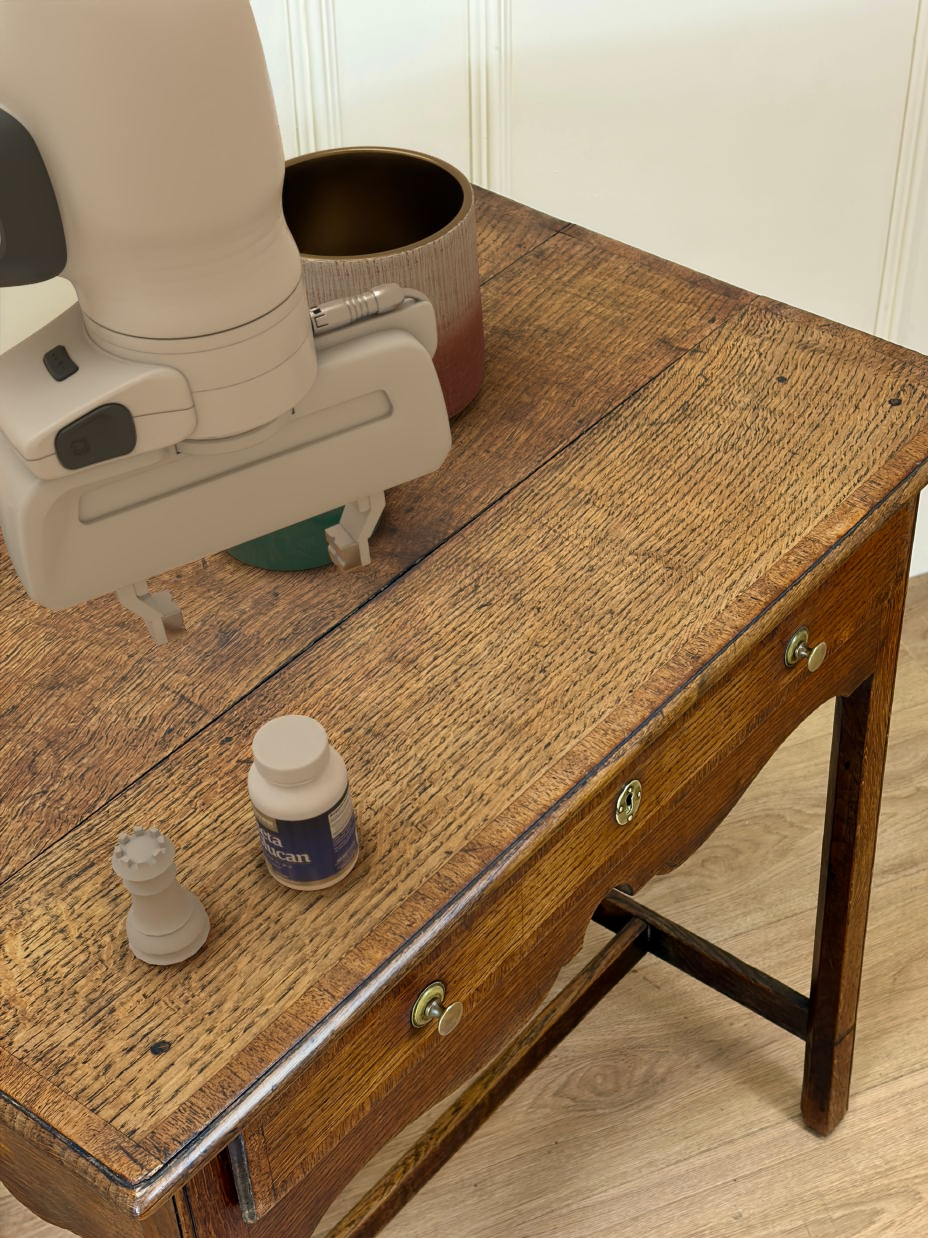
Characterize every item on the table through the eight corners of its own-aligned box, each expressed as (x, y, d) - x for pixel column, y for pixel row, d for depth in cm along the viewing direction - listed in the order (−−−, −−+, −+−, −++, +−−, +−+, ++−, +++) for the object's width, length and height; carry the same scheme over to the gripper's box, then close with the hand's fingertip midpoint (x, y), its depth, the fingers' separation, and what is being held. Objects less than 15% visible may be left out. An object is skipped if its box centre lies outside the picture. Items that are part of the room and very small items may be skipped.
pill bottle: (249, 880, 84) (219, 765, 77) (290, 811, 87) (264, 694, 80) (337, 904, 82) (314, 789, 75) (375, 832, 86) (356, 716, 79)
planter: (320, 311, 126) (294, 130, 115) (517, 345, 121) (510, 160, 110) (223, 428, 114) (183, 240, 103) (436, 470, 110) (419, 278, 99)
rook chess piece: (134, 906, 83) (100, 813, 77) (215, 900, 83) (187, 807, 77) (125, 973, 80) (89, 882, 74) (208, 967, 80) (179, 875, 74)
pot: (256, 606, 100) (231, 493, 93) (177, 492, 109) (150, 380, 102) (424, 542, 104) (413, 428, 97) (335, 437, 113) (319, 326, 106)
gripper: (397, 240, 66) (424, 489, 76) (-60, 383, 59) (35, 636, 69) (464, 303, 62) (483, 557, 72) (-16, 463, 55) (78, 719, 65)
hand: (261, 597), depth 71 cm, fingers open, 8 cm apart
